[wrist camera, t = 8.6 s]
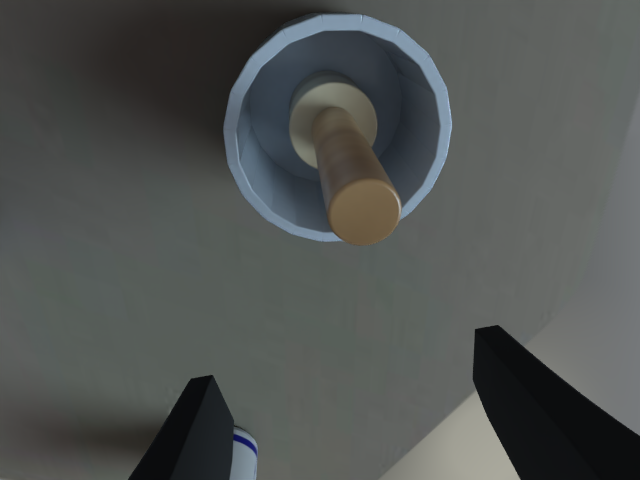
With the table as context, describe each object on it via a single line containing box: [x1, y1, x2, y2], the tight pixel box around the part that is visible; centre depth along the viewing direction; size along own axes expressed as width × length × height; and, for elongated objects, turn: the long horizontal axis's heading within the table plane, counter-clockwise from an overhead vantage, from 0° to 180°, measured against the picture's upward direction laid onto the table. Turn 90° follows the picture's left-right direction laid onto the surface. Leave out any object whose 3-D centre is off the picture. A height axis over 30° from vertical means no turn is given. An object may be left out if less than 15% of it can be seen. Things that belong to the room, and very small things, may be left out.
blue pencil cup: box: [223, 12, 452, 242], centre depth 15 cm, size 7×7×6 cm
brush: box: [289, 70, 402, 246], centre depth 12 cm, size 3×3×10 cm
